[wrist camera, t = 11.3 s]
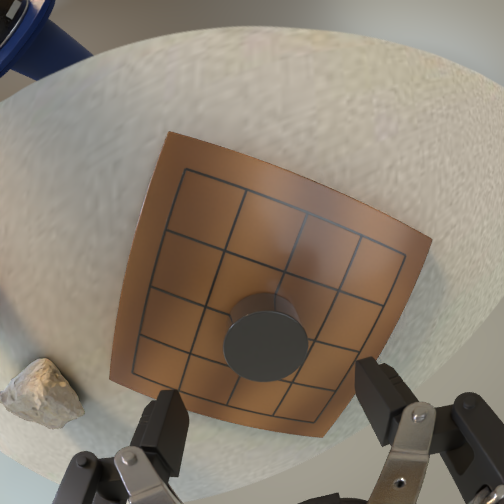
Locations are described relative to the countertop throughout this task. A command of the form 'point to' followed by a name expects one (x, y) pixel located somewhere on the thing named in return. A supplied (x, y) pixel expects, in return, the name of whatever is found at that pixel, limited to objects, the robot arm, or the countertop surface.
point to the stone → (42, 396)
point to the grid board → (256, 285)
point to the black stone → (264, 338)
